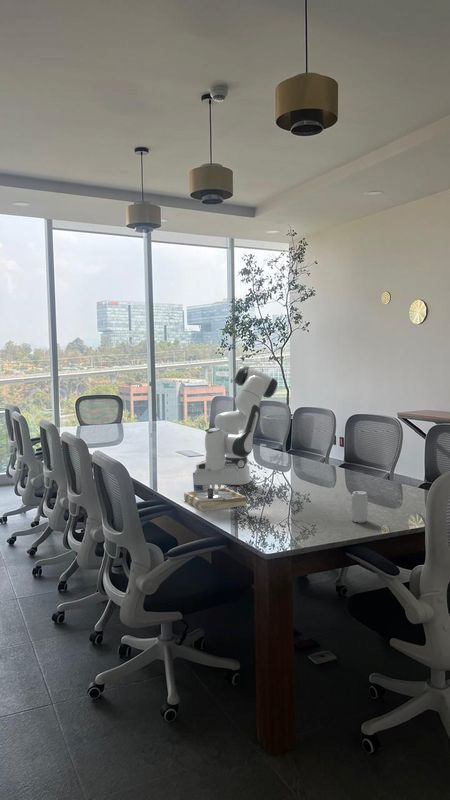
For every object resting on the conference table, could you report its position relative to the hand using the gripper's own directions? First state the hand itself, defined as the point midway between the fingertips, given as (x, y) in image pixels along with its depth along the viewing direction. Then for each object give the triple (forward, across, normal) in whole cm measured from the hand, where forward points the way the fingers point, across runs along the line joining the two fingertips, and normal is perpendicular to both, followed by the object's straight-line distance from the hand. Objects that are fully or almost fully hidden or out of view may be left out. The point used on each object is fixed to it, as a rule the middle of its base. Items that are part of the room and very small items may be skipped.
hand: (216, 494), depth 268 cm
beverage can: (+7, -60, +25) cm, 65 cm away
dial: (+4, +1, -7) cm, 8 cm away
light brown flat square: (+6, +1, -7) cm, 9 cm away
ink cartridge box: (+6, +9, -23) cm, 26 cm away
